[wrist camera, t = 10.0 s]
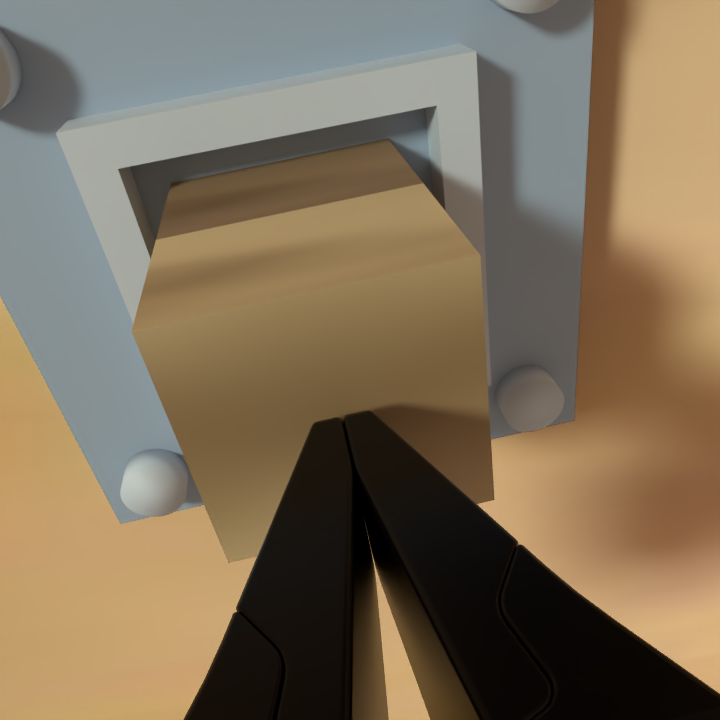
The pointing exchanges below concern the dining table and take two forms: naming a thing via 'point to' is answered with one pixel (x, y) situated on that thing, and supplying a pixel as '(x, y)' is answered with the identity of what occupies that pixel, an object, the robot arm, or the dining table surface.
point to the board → (270, 144)
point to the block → (312, 325)
